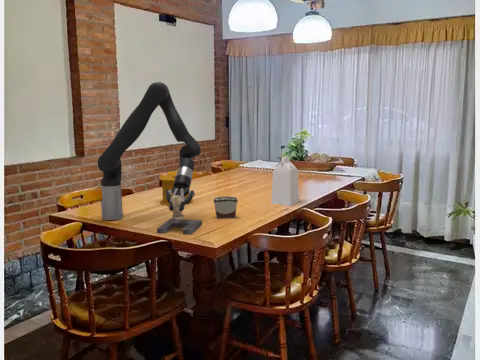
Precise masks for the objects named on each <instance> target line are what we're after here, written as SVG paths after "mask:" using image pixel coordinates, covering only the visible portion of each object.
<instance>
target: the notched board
mask: <svg viewBox="0 0 480 360" xmlns="http://www.w3.org/2000/svg"><path fill="white" fill-rule="evenodd" d="M202 225H203V220H201V219H184V218H183V219H178V220H175V219H172V218H169V219H167V220H166V221H165V222H163V223H162V224H161V225H159V226H158V227H157V228H156V234H157V233H158V234H166V233H168V232H169V231H170V230H172V229H173V228H182V234H183V235H193V234H194V233H195V232H196V231H197V230H198V229H199V228H200V227H201V226H202Z"/></svg>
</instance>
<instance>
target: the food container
mask: <svg viewBox="0 0 480 360" xmlns="http://www.w3.org/2000/svg"><path fill="white" fill-rule="evenodd" d="M237 203H239V199H238V198H237V197H236V196H230V195H229V196H217V197H214V199H213V202H212V204H214V209H215V217H216V220H217V219H219V220H220V219H221V220H222V219H224V220H225V219H236V218H237V217H236V214H237Z"/></svg>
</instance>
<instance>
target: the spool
mask: <svg viewBox="0 0 480 360" xmlns="http://www.w3.org/2000/svg"><path fill="white" fill-rule="evenodd" d="M175 177H176V174H168V175H163V176H160V177H159V178H158V179H159V180H160V181H161V186H162V187H161V189H162V200H161V201H160V202H159V203H160V205H162V206H165V205H166V207H169V204H170V203H168V201H167V199H166V190H168V191H169V190H172V188H173V186H174V181H175ZM172 195H173V193H171V195H170V199H171V198H172ZM188 195H189V193H188V194H187V195H186V196H185V197H186V198H187V197H188ZM181 202H182V198H181ZM189 204H193V199H192V200H191V201H190V203H189ZM189 204H188V203H186V204H185V206H187V205H189Z"/></svg>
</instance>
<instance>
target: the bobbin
mask: <svg viewBox="0 0 480 360" xmlns="http://www.w3.org/2000/svg"><path fill="white" fill-rule="evenodd" d="M172 203H173V211H172V215H171V219H175V220H178V219H183V220H184V214H183V210H182V211H180V210H179V208H180V204H181V196H180V195H175V196H172Z"/></svg>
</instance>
